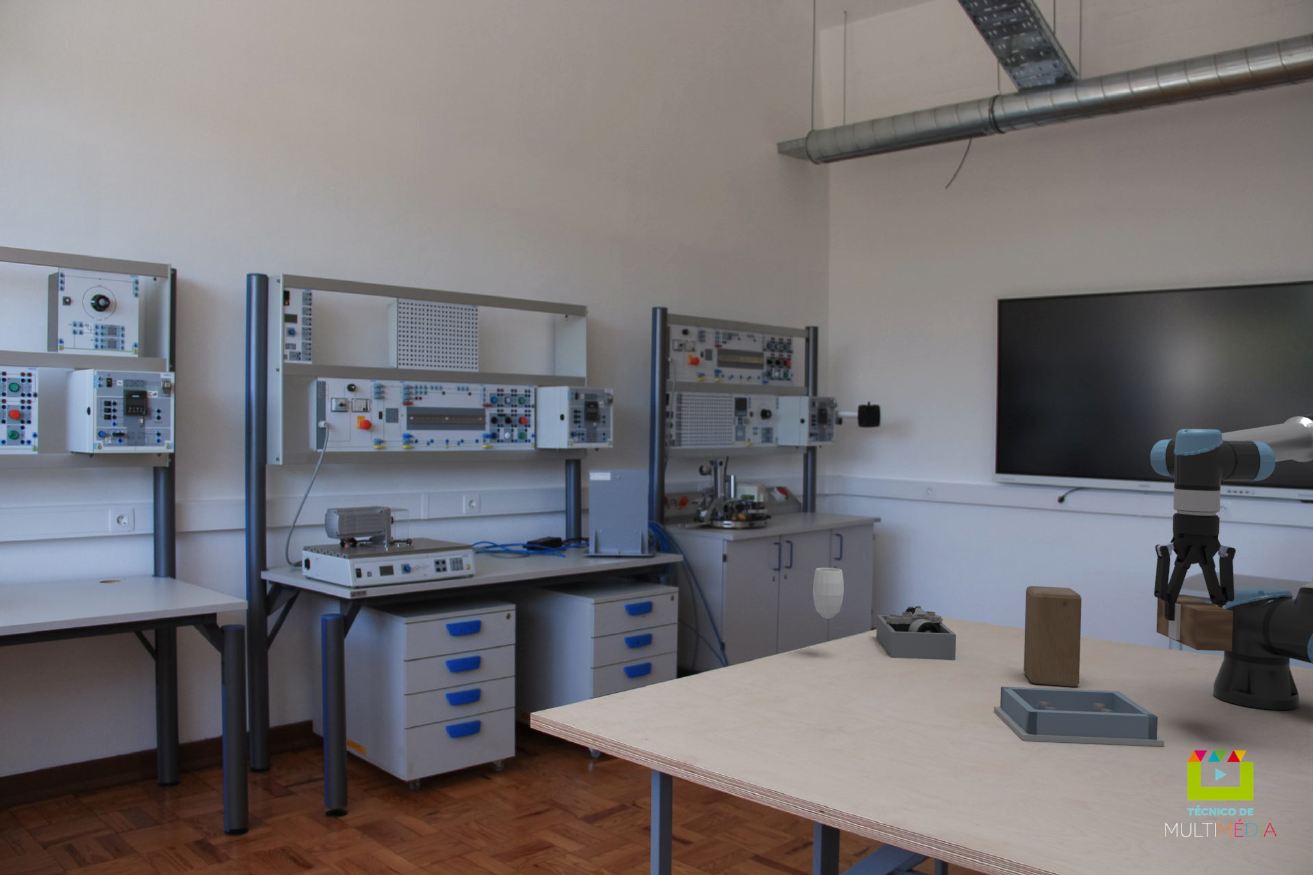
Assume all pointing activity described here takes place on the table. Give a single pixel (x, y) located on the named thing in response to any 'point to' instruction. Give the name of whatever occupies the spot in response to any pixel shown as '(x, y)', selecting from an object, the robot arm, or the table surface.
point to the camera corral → (916, 642)
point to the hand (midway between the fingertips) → (1192, 638)
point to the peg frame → (1077, 716)
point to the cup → (828, 591)
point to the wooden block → (1052, 636)
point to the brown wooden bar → (1199, 624)
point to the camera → (915, 621)
